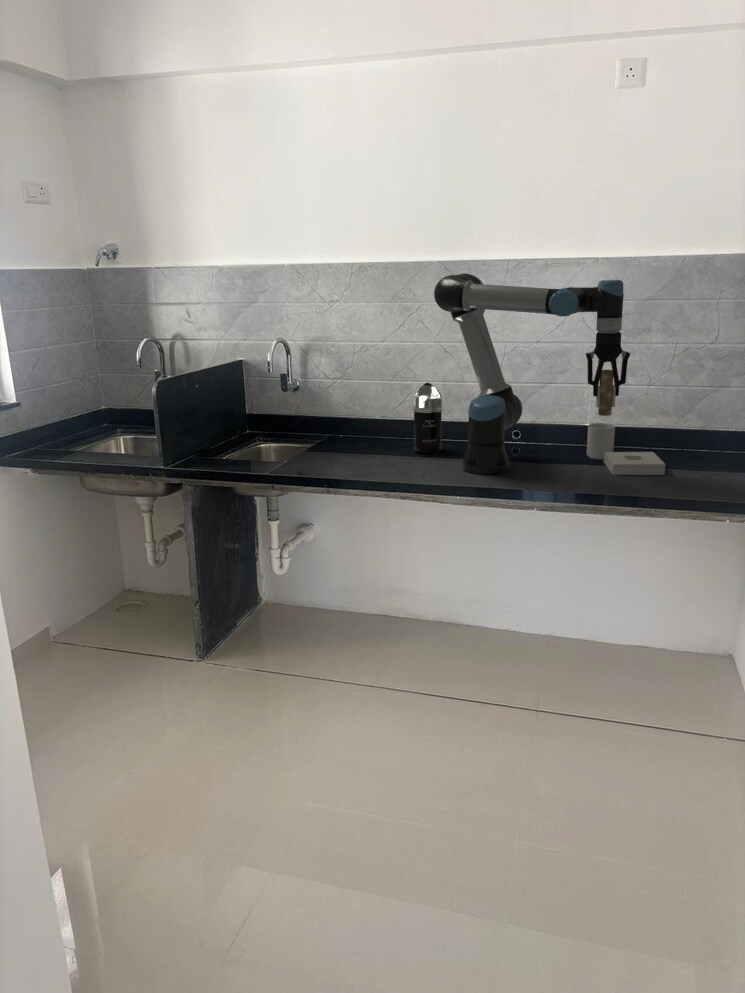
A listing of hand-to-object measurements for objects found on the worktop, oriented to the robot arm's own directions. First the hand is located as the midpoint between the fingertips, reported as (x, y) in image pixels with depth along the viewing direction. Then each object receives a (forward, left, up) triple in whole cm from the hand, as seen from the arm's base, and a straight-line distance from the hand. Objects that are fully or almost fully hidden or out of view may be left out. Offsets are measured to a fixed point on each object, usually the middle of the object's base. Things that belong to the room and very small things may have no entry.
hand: (605, 406), depth 249 cm
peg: (0, 0, -3) cm, 3 cm away
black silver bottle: (-57, +26, -21) cm, 66 cm away
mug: (+3, +19, -21) cm, 29 cm away
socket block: (+11, +3, -21) cm, 24 cm away
